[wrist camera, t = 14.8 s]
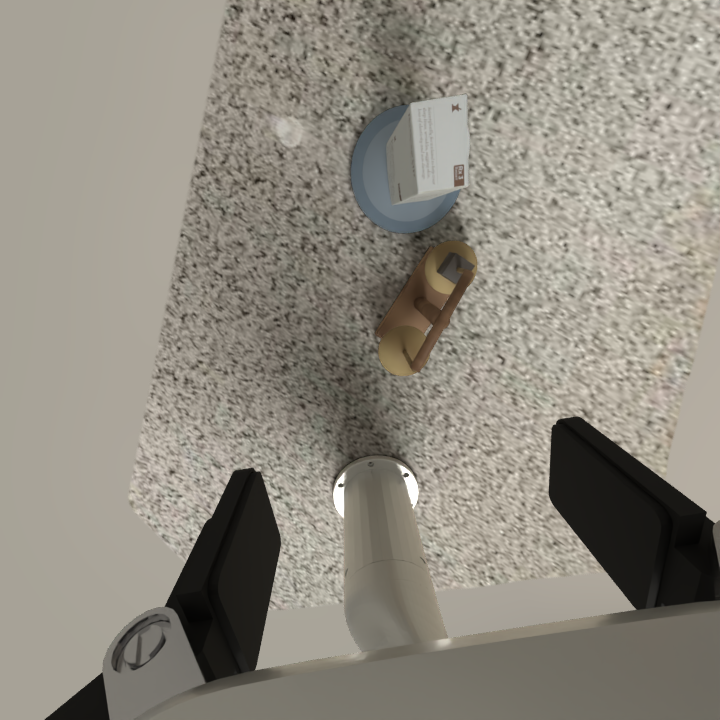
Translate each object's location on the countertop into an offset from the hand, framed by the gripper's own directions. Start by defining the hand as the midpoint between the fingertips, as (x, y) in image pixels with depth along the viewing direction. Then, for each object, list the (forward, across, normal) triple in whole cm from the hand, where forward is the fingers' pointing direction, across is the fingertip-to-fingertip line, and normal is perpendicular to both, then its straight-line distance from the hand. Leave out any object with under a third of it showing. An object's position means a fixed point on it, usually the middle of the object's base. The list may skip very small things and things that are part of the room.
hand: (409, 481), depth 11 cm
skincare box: (+31, -7, -13) cm, 35 cm away
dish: (+32, -7, -13) cm, 36 cm away
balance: (+32, -7, +1) cm, 33 cm away
